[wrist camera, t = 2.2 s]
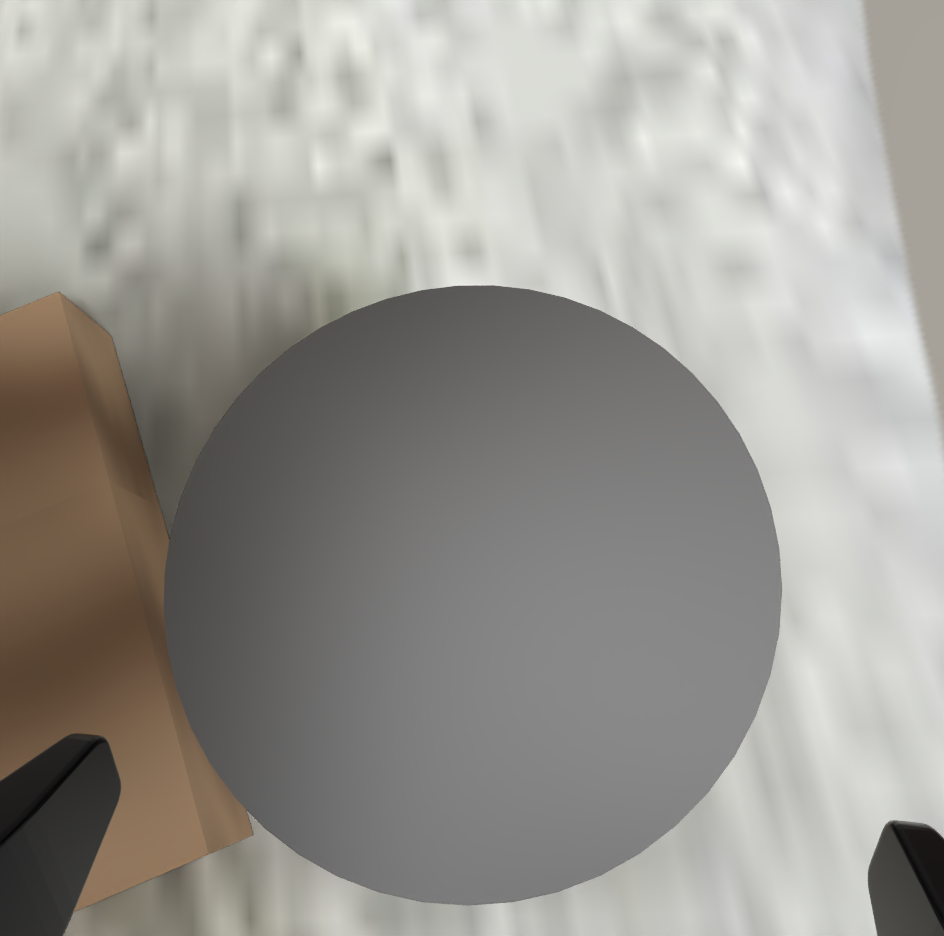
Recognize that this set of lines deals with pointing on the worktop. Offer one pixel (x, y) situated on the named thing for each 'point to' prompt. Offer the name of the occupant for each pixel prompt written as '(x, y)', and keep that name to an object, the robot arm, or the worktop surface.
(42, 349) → the tan u-shaped stand
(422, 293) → the orange banded cylinder
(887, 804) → the worktop surface
